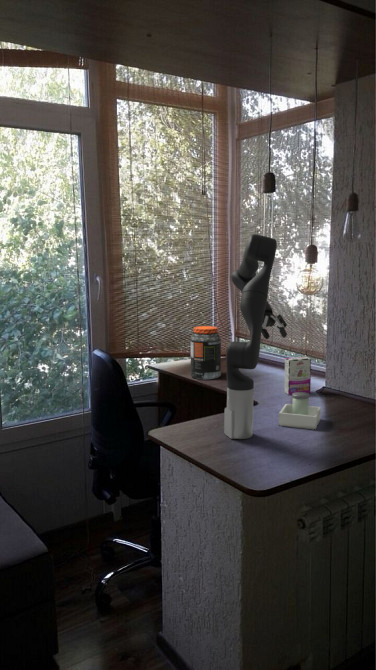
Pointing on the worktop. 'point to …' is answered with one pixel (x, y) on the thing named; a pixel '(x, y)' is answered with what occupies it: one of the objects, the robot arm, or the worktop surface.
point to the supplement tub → (205, 353)
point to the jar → (300, 403)
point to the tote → (299, 417)
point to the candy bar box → (297, 375)
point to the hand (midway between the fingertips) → (276, 337)
